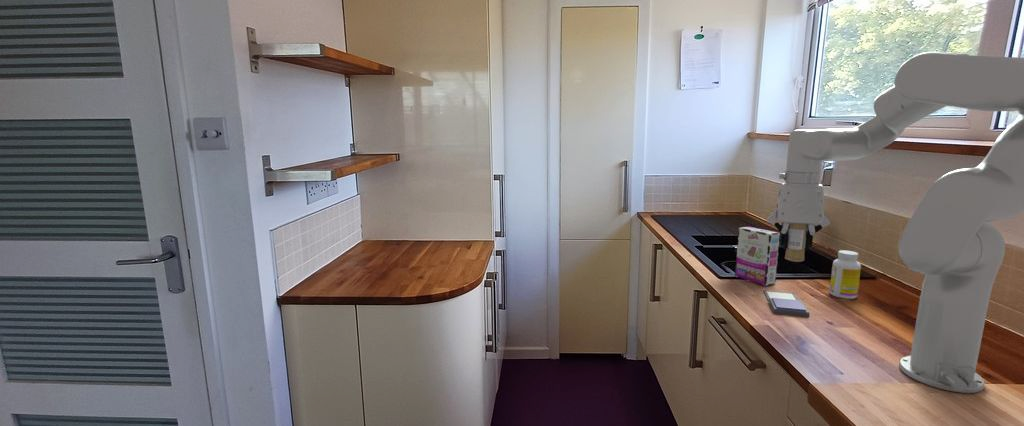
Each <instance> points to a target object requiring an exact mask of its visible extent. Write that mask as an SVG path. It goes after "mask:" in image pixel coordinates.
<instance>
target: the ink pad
mask: <svg viewBox="0 0 1024 426" xmlns="http://www.w3.org/2000/svg"><path fill="white" fill-rule="evenodd" d="M768 303H769V305H770V307H771V310H772V311H773V313H774V314H779V315H785V316H786V315H788V316H797V317H805V318H806V317H807V318H810V314H811V313H810V311H809V310H808V308H807V307H806V305H805V304H804V302H803V301H801V300H800V299H798V300H790V299H779V298H769V301H768Z"/></svg>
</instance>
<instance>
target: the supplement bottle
mask: <svg viewBox="0 0 1024 426" xmlns="http://www.w3.org/2000/svg"><path fill="white" fill-rule="evenodd" d="M837 256H838V258H836V259H834V260H833V262H832V267H831V277H830V285H829V293H830V295H832V296H834V297H836V298H840V299H843V300H844V299H845V300H853V299H854V300H855V299H856V298H857V297H858V294H859V293H858V292H859V287H860V279H861V278H860V277H861V272H862V271H861V270H862V265H861V263H860V262H859V261H857V260H858V259H859V253H858V252H856V251H852V250H845V249H843V250H842V249H841V250H839V251H838V252H837Z"/></svg>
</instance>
